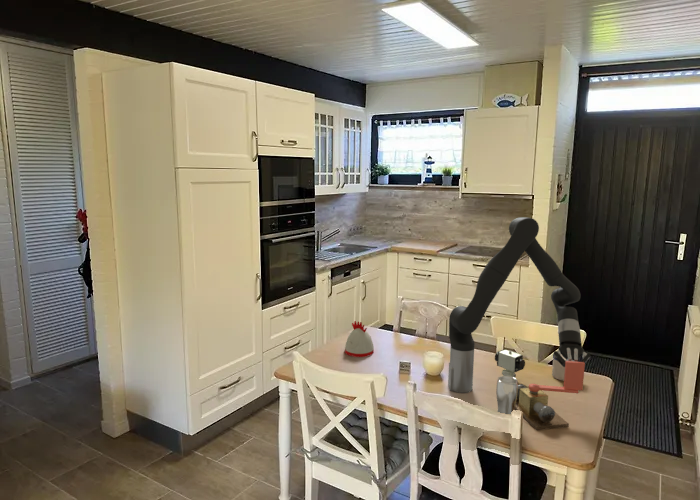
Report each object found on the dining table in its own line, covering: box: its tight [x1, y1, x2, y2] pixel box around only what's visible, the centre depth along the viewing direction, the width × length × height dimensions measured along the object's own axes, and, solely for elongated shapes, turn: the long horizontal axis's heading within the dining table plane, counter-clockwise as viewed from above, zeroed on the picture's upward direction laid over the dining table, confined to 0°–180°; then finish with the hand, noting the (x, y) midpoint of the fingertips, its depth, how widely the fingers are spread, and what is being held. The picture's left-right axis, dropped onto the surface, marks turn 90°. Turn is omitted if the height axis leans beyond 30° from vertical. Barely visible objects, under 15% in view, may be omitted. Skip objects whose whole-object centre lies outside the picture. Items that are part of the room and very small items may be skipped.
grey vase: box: [495, 375, 519, 414], centre depth 168 cm, size 7×7×15 cm
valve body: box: [514, 383, 570, 431], centre depth 174 cm, size 22×12×9 cm, turn 10°
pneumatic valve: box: [494, 349, 526, 379], centre depth 203 cm, size 6×12×12 cm, turn 40°
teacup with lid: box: [551, 353, 566, 382], centre depth 205 cm, size 12×9×12 cm
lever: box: [528, 361, 586, 394], centre depth 170 cm, size 18×4×11 cm, turn 79°
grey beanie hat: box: [344, 320, 375, 358], centre depth 231 cm, size 14×14×15 cm
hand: (573, 378), depth 171 cm, fingers closed
